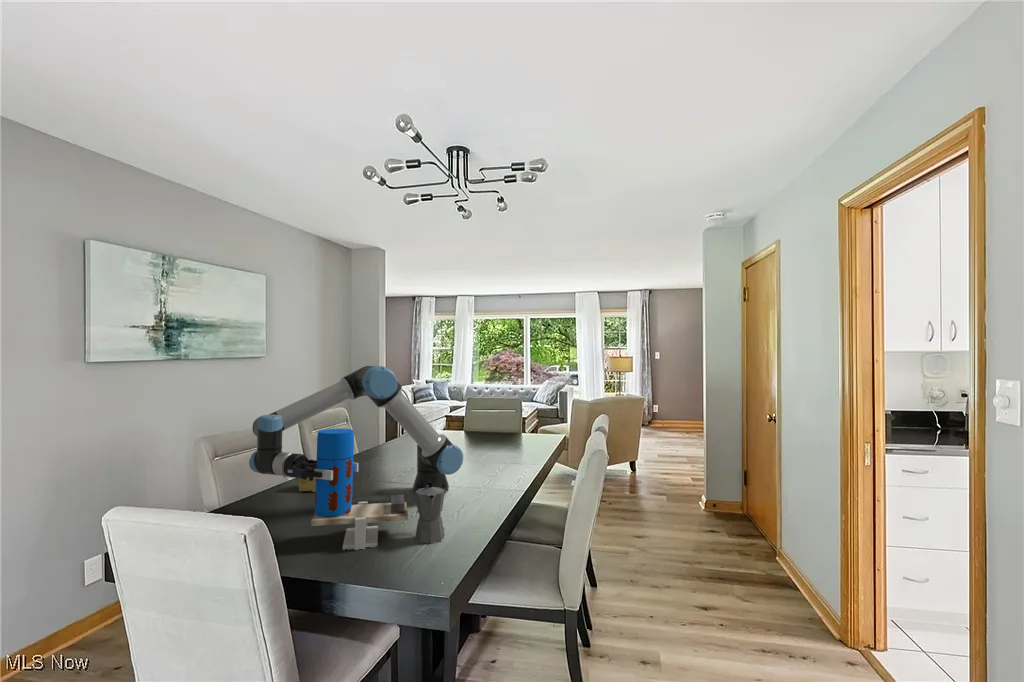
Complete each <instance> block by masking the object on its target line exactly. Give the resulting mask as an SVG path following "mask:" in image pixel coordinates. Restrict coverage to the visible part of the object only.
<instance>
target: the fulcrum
mask: <svg viewBox="0 0 1024 682" xmlns="http://www.w3.org/2000/svg"><path fill="white" fill-rule="evenodd" d="M357 504H369V502H368V501H358V502H357ZM368 524H369V523H366V517H361V518H355V523H354V527H347V528H346V530H345V535H344V537H343V538H344V539H343V542H342V543H343V544H342V551H346V550H345V549H347V550H354V551H359V549H363V550H366V548H365V547H370V548H376V547H375V546H377V547H378V543H379V542H378V541H379V539H378V538H379V536H378V535H379V525H373V526H372V525H371V526H368Z"/></svg>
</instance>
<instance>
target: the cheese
mask: <svg viewBox="0 0 1024 682" xmlns="http://www.w3.org/2000/svg"><path fill="white" fill-rule="evenodd" d="M302 491H309V492H312V493H315V491H316V478H314V477H313V481H309V478H308V477H307V479H306V480H304V479H301V478H298V492H302Z"/></svg>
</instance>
